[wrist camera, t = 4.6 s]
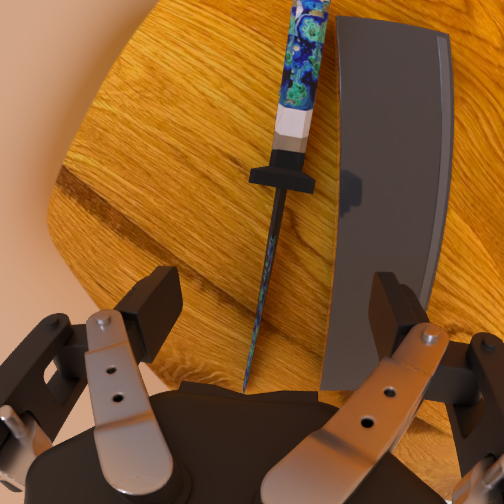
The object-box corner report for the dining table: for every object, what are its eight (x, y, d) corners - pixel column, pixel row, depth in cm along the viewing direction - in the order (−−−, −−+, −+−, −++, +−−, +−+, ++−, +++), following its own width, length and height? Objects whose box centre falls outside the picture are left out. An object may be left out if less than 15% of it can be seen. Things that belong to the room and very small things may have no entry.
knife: (300, -20, 12) (297, -50, 8) (353, -8, 12) (366, -34, 8) (220, 365, 28) (208, 403, 24) (252, 373, 28) (243, 412, 24)
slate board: (319, 377, 24) (319, 391, 23) (332, 22, 14) (335, 14, 13) (397, 375, 24) (401, 388, 22) (439, 38, 13) (449, 33, 12)
